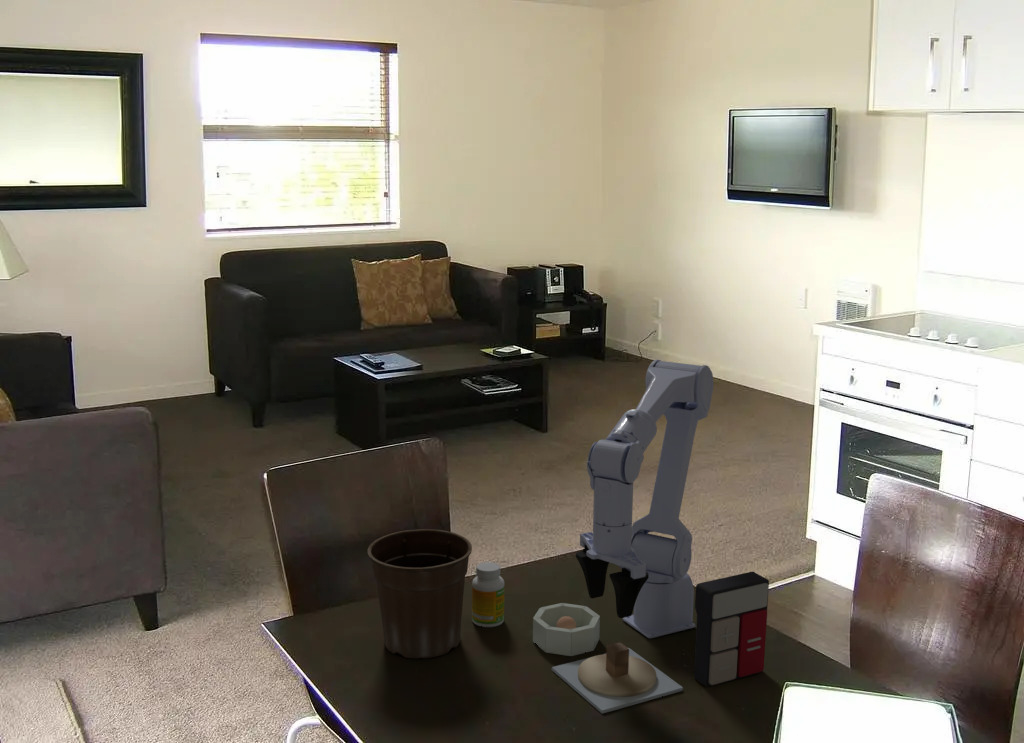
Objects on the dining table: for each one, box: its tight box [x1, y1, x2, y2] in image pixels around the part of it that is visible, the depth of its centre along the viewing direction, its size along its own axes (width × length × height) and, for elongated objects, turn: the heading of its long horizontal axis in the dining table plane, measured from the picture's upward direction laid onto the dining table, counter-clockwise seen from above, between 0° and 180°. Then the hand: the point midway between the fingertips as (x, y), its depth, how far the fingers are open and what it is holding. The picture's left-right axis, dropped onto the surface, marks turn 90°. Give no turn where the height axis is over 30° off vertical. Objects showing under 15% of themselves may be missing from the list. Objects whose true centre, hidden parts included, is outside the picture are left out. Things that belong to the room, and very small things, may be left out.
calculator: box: [693, 571, 770, 688], centre depth 155 cm, size 11×4×15 cm, turn 117°
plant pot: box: [367, 528, 473, 659], centre depth 164 cm, size 16×16×16 cm
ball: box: [556, 616, 576, 629], centre depth 167 cm, size 3×3×3 cm
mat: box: [551, 647, 684, 715], centre depth 155 cm, size 14×14×1 cm
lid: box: [578, 642, 656, 697], centre depth 154 cm, size 12×12×5 cm
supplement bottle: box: [471, 561, 505, 628], centre depth 173 cm, size 5×5×10 cm
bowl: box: [532, 602, 601, 657], centre depth 167 cm, size 10×10×4 cm
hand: (610, 606), depth 156 cm, fingers open, 7 cm apart
